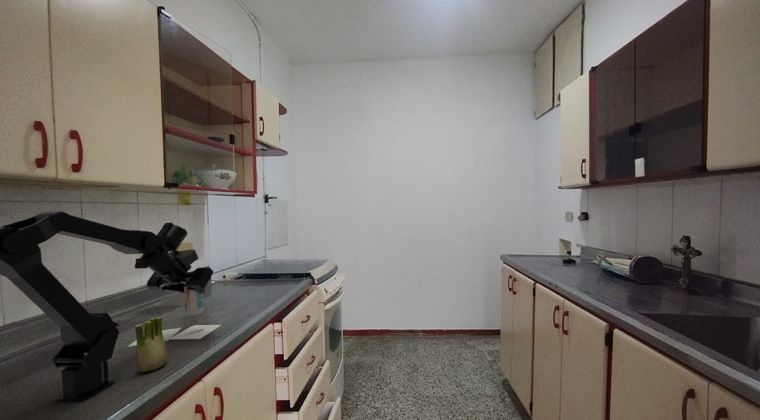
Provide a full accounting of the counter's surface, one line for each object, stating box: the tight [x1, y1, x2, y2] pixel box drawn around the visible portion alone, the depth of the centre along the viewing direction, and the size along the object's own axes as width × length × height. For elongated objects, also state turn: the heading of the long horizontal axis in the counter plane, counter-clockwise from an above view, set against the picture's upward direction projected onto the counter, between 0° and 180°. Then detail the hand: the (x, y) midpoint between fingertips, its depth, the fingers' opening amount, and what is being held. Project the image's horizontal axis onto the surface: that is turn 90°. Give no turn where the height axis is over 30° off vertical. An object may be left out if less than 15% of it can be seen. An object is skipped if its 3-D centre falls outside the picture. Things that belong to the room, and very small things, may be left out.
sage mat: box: [127, 327, 182, 348], centre depth 91 cm, size 10×10×1 cm
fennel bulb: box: [134, 316, 167, 373], centre depth 71 cm, size 6×5×12 cm
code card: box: [168, 324, 222, 341], centre depth 93 cm, size 10×10×1 cm
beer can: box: [183, 280, 204, 317], centre depth 92 cm, size 5×5×12 cm
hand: (197, 292), depth 94 cm, fingers closed on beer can, 5 cm apart
